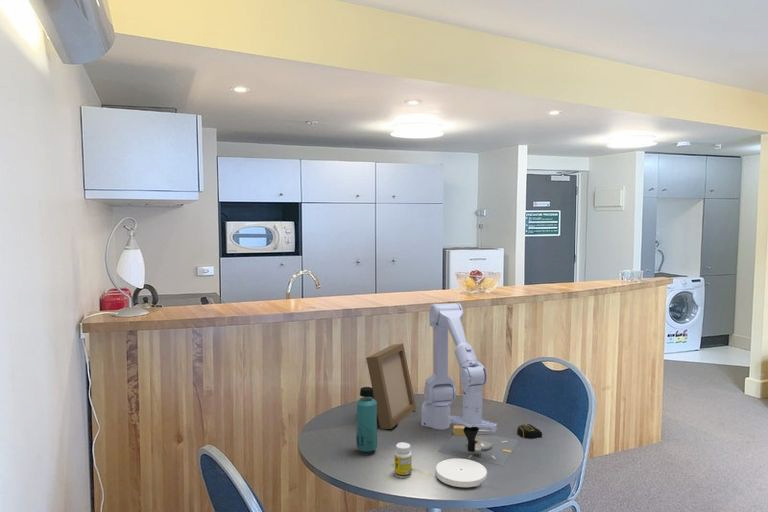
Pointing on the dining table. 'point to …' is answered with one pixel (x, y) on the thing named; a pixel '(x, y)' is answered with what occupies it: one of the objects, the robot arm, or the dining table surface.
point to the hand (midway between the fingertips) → (471, 450)
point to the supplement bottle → (403, 460)
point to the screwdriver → (460, 432)
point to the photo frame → (391, 385)
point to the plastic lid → (461, 472)
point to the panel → (494, 455)
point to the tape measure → (528, 432)
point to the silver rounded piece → (480, 445)
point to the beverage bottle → (366, 421)
